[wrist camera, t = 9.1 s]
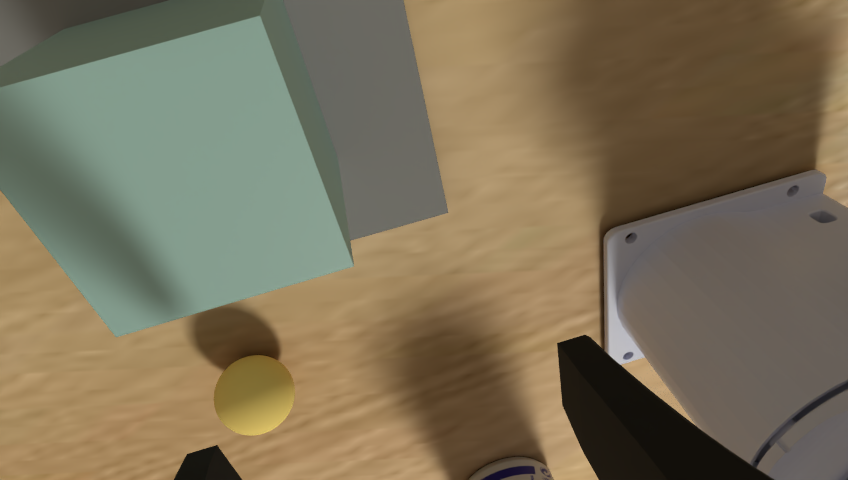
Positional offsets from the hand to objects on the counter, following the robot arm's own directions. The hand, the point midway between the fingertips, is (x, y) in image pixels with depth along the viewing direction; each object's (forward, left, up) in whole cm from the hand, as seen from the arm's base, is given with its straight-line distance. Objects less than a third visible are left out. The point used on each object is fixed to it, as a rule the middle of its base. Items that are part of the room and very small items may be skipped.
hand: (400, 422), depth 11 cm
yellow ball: (+6, +6, -9) cm, 13 cm away
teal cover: (+3, -5, -9) cm, 11 cm away
